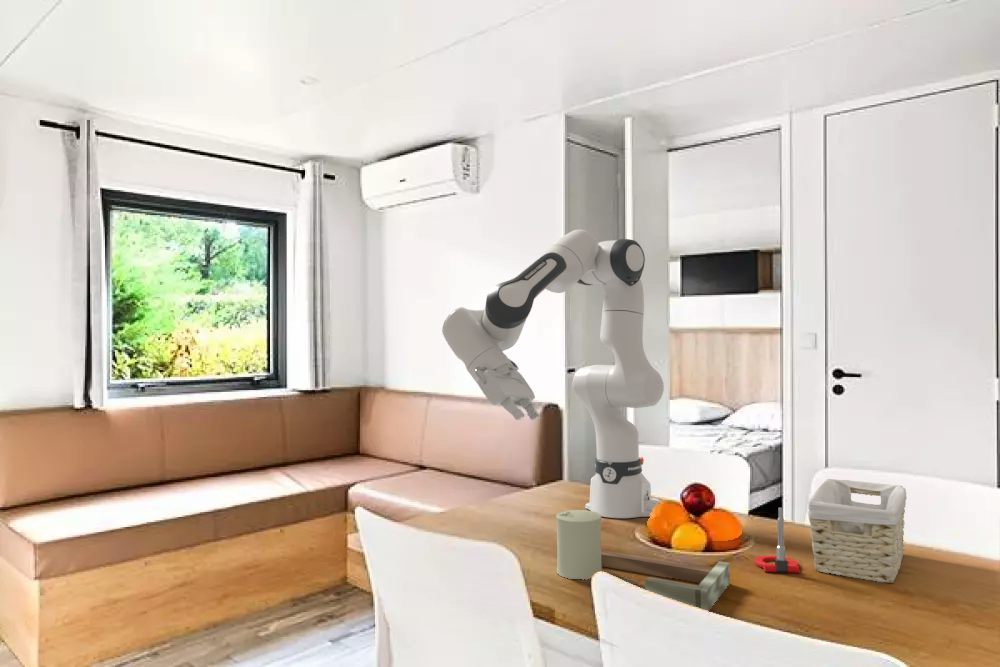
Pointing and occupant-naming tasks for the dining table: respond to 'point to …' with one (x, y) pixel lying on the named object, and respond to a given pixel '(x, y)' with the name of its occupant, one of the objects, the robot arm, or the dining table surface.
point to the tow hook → (779, 554)
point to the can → (578, 544)
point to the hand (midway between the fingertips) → (528, 418)
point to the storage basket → (857, 530)
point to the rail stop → (696, 595)
